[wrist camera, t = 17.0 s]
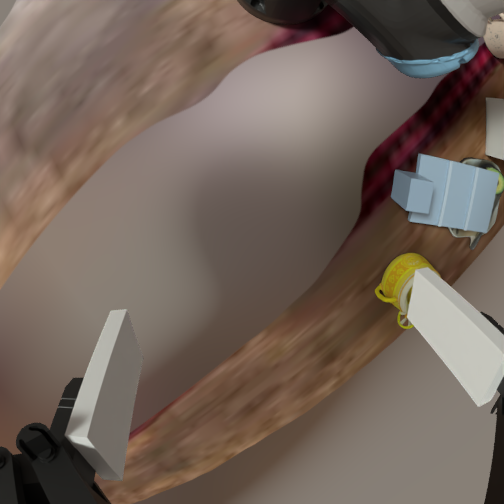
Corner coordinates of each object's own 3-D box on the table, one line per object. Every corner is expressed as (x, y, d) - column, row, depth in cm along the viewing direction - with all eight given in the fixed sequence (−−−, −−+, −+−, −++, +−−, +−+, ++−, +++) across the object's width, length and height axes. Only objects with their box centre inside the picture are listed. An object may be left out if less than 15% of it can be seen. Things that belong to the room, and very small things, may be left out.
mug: (423, 242, 56) (460, 269, 45) (422, 288, 61) (454, 320, 50) (367, 260, 56) (398, 294, 45) (370, 308, 61) (397, 345, 50)
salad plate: (489, 245, 60) (501, 253, 55) (435, 249, 58) (448, 258, 54) (503, 162, 52) (517, 167, 48) (449, 153, 50) (464, 157, 46)
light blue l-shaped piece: (396, 148, 49) (414, 155, 41) (493, 171, 47) (519, 181, 39) (386, 215, 54) (401, 232, 46) (481, 229, 52) (504, 246, 44)
